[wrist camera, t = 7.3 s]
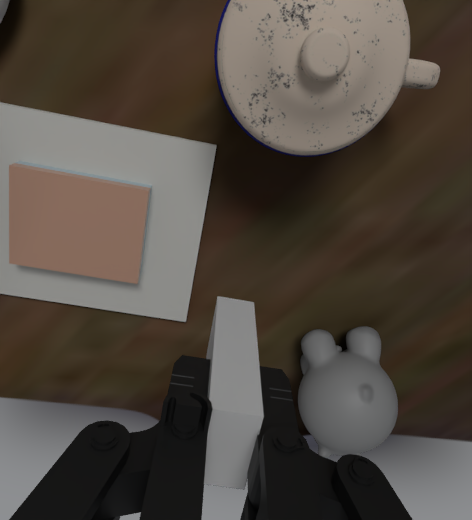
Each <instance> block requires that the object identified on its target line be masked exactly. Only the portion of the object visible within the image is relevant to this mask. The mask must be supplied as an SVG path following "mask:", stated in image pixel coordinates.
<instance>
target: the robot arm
mask: <svg viewBox="0 0 472 520" xmlns="http://www.w3.org/2000/svg"><path fill="white" fill-rule="evenodd" d="M247 478H248V493H247V497H246V501H245V504H244V508H243V512H242V516H241V520H412V518H411V517H410V515H409V514H408V512H407V510H406V509H405V507H404V506H403V504H402V502H401V501H400V499H399V498H398V496H397V495H396V493H395V491H394V490H393V488H392V487H391V485H390V484H389V482H388V480H387V479H386V477H385V476H384V474H383V473H382V472H381V470H380V469H379V468H378V467H377V466H376V465H375V464H374V463H373V462H371V461H370V460H369V459H367V458H365V457H362V456H360V455H354V454H348V455H344V456H342V457H341V458H340V459H339V460H338V462H334V461H332V460H329V459H327V458H325V457H322V456H320V455H318V454H316V453H315V452H313V451H312V450H311V449H309V446H308V444H307V441H306V439H305V438H304V437H303V436H302V435H301V434H300V433H299V430H298V424H297V419H296V414H295V408H294V403H293V397H292V392H291V386H290V381H289V379H288V377H287V376H286V375H285V373H284V372H283V371H282V370H281V369H275V368H268V367H262V366H259V356H258V345H257V333H256V322H255V310H254V302H249V301H243V300H237V299H231V298H225V297H219V296H218V297H217V302H216V308H215V313H214V318H213V323H212V329H211V334H210V339H209V344H208V350H207V357H206V359H204V358H197V357H191V356H184V355H182V356H181V357H180V358H179V359H178V360H177V361H176V362H175V363H174V367H173V372H172V377H171V381H170V386H169V390H168V395H167V396H166V398H165V400H164V402H163V408H162V415H161V420H160V421H159V423H158V424H156V425H155V426H154V427H152V428H150V429H147V430H144V431H140V432H132V433H129V432H128V430H127V429H126V428H125V427H124V426H123V425H121V424H119V423H117V422H113V421H98V422H95V423H93V424H90V425H88V426H87V427H85V428H84V429H83V430H82V431H81V432H80V433H79V434H78V436H77V437H76V438H75V439H74V441H73V442H72V443H71V444H70V445H69V447H68V448H67V449H66V450H65V452H64V453H63V454H62V455H61V457H60V458H59V459H58V460H57V462H56V463H55V464H54V465H53V466H52V468H51V469H50V470H49V471H48V473H47V474H46V475H45V476H44V477H43V479H42V480H41V481H40V482H39V484H38V485H37V486H36V487H35V489H34V490H33V491H32V492H31V494H30V495H29V496H28V497H27V498H26V500H25V501H24V502H23V503H22V505H21V506H20V507H19V508H18V510H17V511H16V512H15V513H14V515H13V516H12V517H11V518H10V519H9V520H119V519H120V516H123V515H128V514H133V513H139V512H141V516H140V520H201V516H202V503H203V488H204V484H207V485H214V486H221V487H229V488H236V489H245V485H246V482H247Z"/></svg>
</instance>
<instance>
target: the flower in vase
mask: <svg viewBox="0 0 472 520" xmlns="http://www.w3.org/2000/svg"><path fill="white" fill-rule="evenodd" d="M9 1H10V0H0V23H1V22H2V19H3V17H4V15H5V13H6V11H7V7H8V4H9Z"/></svg>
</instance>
